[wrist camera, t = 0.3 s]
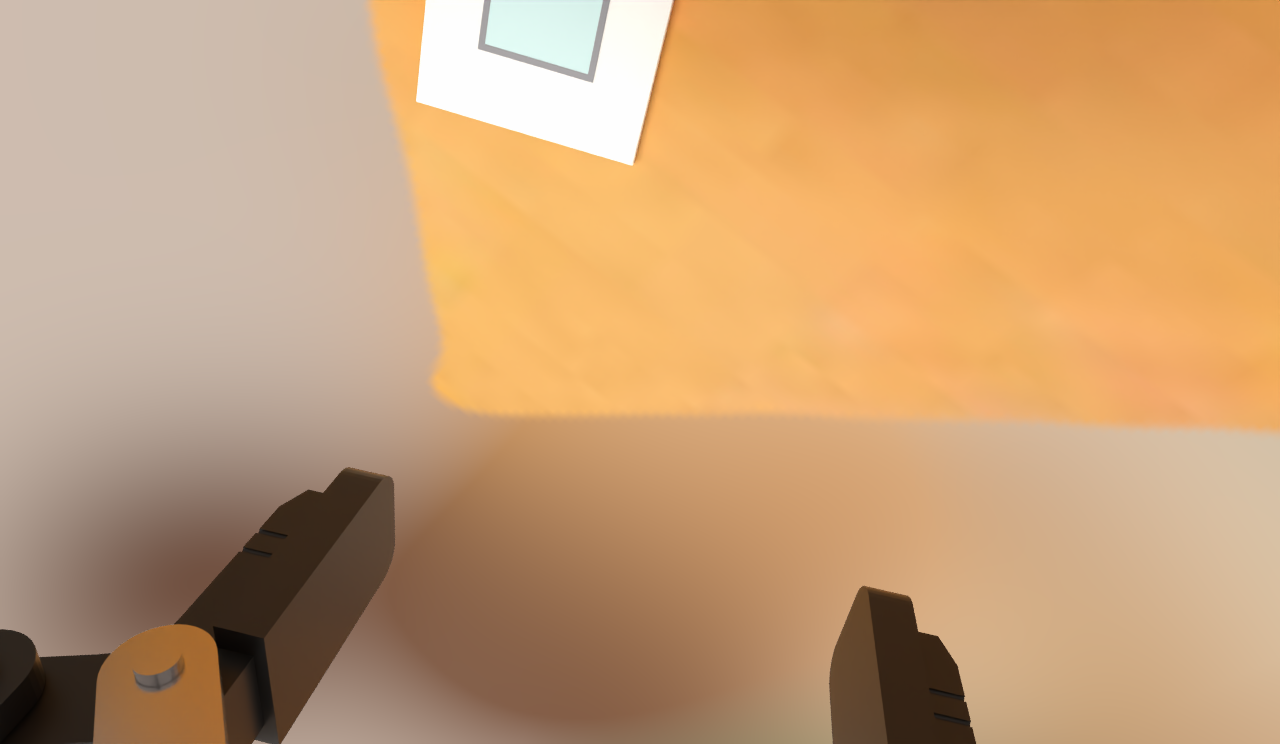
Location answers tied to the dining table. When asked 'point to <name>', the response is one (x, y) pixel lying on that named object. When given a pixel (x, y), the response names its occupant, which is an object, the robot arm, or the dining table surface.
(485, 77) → the sheet
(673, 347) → the dining table surface
